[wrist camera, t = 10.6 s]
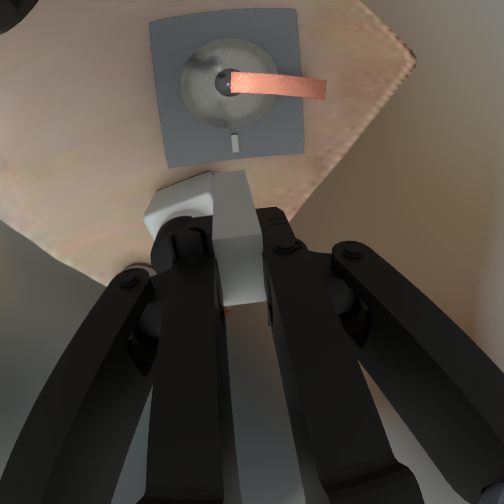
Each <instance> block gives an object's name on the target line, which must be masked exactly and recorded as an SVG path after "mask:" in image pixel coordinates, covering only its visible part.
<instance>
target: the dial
mask: <svg viewBox="0 0 504 504" xmlns="http://www.w3.org/2000/svg"><path fill="white" fill-rule="evenodd" d="M326 82H327V81H325V80H319V79H312V78H305V77H296V76H287V75H278V71H277V68H276V66H275V63H274V62H273V60H272V58H271V57H270V56H269V55H268V53H267V52H266V51H264V50H263V49H262V48H261V47H259V46H258V45H256V44H254V43H252V42H250V41H247V40H243V39H238V38H224V39H218V40H215V41H212V42H209V43H207V44H205V45H204V46H202V47H200V48H199V49H198V50H197V51H195V52H194V53H193V54H192V55H191V57H190V58H189V59H188V61H187V62H186V64H185V66H184V68H183V71H182V75H181V81H180V88H181V94H182V98H183V100H184V103H185V104H186V106H187V108H188V109H189V111H190V112H191V113H192V114H193V115H194V116H195V117H196V118H198V119H199V120H201V121H202V122H204V123H206V124H208V125H210V126H214V127H218V128H225V129H232V128H240V127H244V126H247V125H249V124H252V123H254V122H255V121H257V120H259V119H260V118H261V117H263V116H264V115H265V114H266V113H267V112H268V111H269V109H270V108H271V107H272V105H273V103H274V101H275V99H276V97H277V95H288V96H298V97H307V98H315V99H323V100H325V93H326Z"/></svg>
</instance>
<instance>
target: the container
mask: <svg viewBox="0 0 504 504" xmlns="http://www.w3.org/2000/svg"><path fill="white" fill-rule="evenodd" d="M213 197H214V176H213V173H212V172H210V171H208V172H206V173H203V174H200V175H197V176H195V177H192V178H189V179H187V180H184V181H182V182H179V183H176V184H174V185H171V186H169V187H166V188H164V189H161V190H159V191H157V192H156V193H155V195H154V197H153V198H152V200H151V202H150V204H149V206H148V208H147V210H146V212H145V214H144V216H143V221H144V223H145V225H146V227H147V228H148V230H149V232H150V234H151V236H152V238H153V240H154V244H153V247H152V250H151V263H152V267H153V269H154V271H155V272H156V274H160V273H163V272H165V271H167V270H169V269H171V267H172V262H173V261H172V257H171V254H170V250H169V246H168V242H167V238H168V236H169V234H171V233H172V232H173V231H175V230H177V229H179V228H182V227H186V224H187V223H188V222H189V220H190V219H191V218H193V217H201V216H208V215H213Z"/></svg>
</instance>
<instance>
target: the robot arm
mask: <svg viewBox="0 0 504 504" xmlns="http://www.w3.org/2000/svg"><path fill="white" fill-rule="evenodd" d="M37 1H38V0H0V34H2V33H4V32H6V31H8V30H10V29H11V28H12V27H14V26H15V25H16V24H17V23H18V22H20V21H21V20H22V19H23V18H24V17H25V16H26V15H27V13H28V12H29V11H30V10H31V9H32V8H33V6H34V5H35V4H36V2H37ZM167 242H168V246H169V250H170V254H171V257H172V261H173V262H172V267H171V269H169V270H167V271H165V272H163V273H160V274H157V275H154V276H151V277H150V275H149V272H148V271H147V270H145V269H143V268H130V269H126V270H124V271H122V272H121V273H119V274H117V275H116V276H115V277H114V278H113V279H112V281H111V282H110V284H109V285H108V286H107V288H106V289H105V291H104V292H103V293H102V295H101V296H100V298H99V299H98V300H97V302H96V304H95V305H94V306H93V308H92V309H91V311H90V312H89V314H88V315H87V317H86V318H85V320H84V321H83V323H82V324H81V326H80V327H79V329H78V330H77V332H76V333H75V335H74V337H73V338H72V340H71V341H70V343H69V344H68V346H67V348H66V350H65V351H64V353H63V354H62V356H61V358H60V359H59V361H58V363H57V364H56V366H55V368H54V370H53V371H52V373H51V375H50V376H49V378H48V380H47V382H46V384H45V385H44V387H43V389H42V391H41V393H40V394H39V396H38V398H37V400H36V402H35V404H34V406H33V408H32V410H31V412H30V414H29V416H28V418H27V420H26V422H25V424H24V426H23V428H22V430H21V432H20V434H19V436H18V439H17V441H16V443H15V445H14V448H13V450H12V452H11V455H10V457H9V459H8V462H7V464H6V467H5V469H4V472H3V474H2V477H1V480H0V504H111V500H112V497H113V494H114V491H115V488H116V485H117V482H118V479H119V476H120V473H121V470H122V467H123V464H124V461H125V458H126V456H127V452H128V450H129V447H130V444H131V441H132V439H133V436H134V433H135V430H136V428H137V425H138V422H139V419H140V417H141V414H142V411H143V409H144V406H145V403H146V401H147V398H148V396H149V393H150V390H151V388H152V385H153V391H152V401H151V411H150V422H149V435H148V451H147V472H146V490H145V494H144V496H143V497H142V498H141V499H140V500H139V501H138V502H137V503H136V504H242V502H241V493H240V484H239V476H238V466H237V456H236V446H235V435H234V425H233V414H232V401H231V389H230V376H229V363H228V349H227V333H226V316H225V311H224V306H230V305H237V304H246V303H254V302H262V301H266V297H267V306H268V325H269V326H271V330H272V334H273V339H274V345H275V349H276V354H277V359H278V364H279V369H280V374H281V379H282V383H283V389H284V394H285V398H286V404H287V409H288V414H289V418H290V424H291V429H292V433H293V439H294V444H295V449H296V453H297V459H298V463H299V469H300V474H301V479H302V484H303V488H304V493H305V500H306V504H424V500H423V497H422V494H421V491H420V487H419V484H418V482H417V480H416V478H415V476H414V474H413V473H412V471H411V470H410V469H409V468H408V467H407V466H405V465H403V464H401V463H399V462H398V461H397V460H396V458H395V457H394V455H393V453H392V450H391V447H390V444H389V441H388V438H387V436H386V433H385V430H384V427H383V425H382V422H381V419H380V416H379V414H378V411H377V408H376V406H375V403H374V401H373V398H372V395H371V393H370V390H369V388H368V385H367V383H366V380H365V378H364V375H363V373H362V370H361V368H360V365H359V363H358V360H359V362H360V363H361V365H362V366H363V367H364V368H365V370H366V371H367V372H368V374H369V375H370V376H371V378H372V379H373V380H374V382H375V383H376V384H377V386H378V387H379V388H380V390H381V391H382V392H383V394H384V395H385V397H386V398H387V399H388V400H389V402H390V403H391V405H392V406H393V407H394V409H395V410H396V411H397V413H398V414H399V415H400V417H401V418H402V419H403V421H404V422H405V424H406V425H407V426H408V428H409V429H410V430H411V432H412V433H413V435H414V436H415V437H416V439H417V440H418V441H419V443H420V444H421V446H422V447H423V448H424V450H425V451H426V453H427V454H428V455H429V457H430V458H431V460H432V461H433V462H434V464H435V465H436V467H437V468H438V469H439V471H440V472H441V473H442V475H443V476H444V478H445V479H446V481H447V482H448V483H449V484H450V485H451V487H452V488H453V489H454V491H455V492H456V493H458V494H459V495H460V496H461V497H462V498H463V499H464V500H465V501H467V502H469V503H470V504H504V373H503V372H502V371H501V370H500V369H499V368H498V367H497V366H496V365H495V363H494V362H493V361H492V360H491V359H490V358H489V357H488V356H487V355H486V354H485V353H484V352H483V351H482V350H481V349H480V348H479V347H478V346H477V345H476V344H475V342H473V340H471V339H470V337H469V336H467V334H466V333H465V332H464V331H462V330H461V329H460V327H458V326H457V325H456V324H455V323H454V322H453V321H452V320H451V319H450V318H449V317H448V316H447V315H446V314H445V313H444V312H443V311H442V310H441V309H439V308H438V307H437V306H436V305H435V304H434V303H433V302H432V301H431V300H430V299H429V298H428V297H426V295H424V294H423V293H422V292H421V291H420V290H419V289H418V288H417V287H415V286H414V285H413V284H412V283H411V282H410V281H408V279H406V278H405V277H404V276H403V275H402V274H400V273H399V272H398V271H397V270H396V269H395V268H394V267H392V266H391V265H390V264H389V263H388V262H386V261H385V260H384V259H383V258H381V257H380V256H379V255H378V254H377V253H375V252H374V251H373V250H372V249H371V248H370V247H368V246H366V245H365V244H363V243H359V242H356V241H343V242H339V243H337V244H335V245H334V247H333V248H332V254H329V253H317V252H312V251H309V250H308V249H307V247H306V245H305V244H304V243H303V242H302V241H301V240H299V239H297V238H296V237H295V235H294V233H293V231H292V229H291V227H290V225H289V222H288V220H287V219H286V216H285V214H284V212H283V211H282V210H280V209H279V208H277V207H269V208H259V209H255V206H254V203H253V199H252V196H251V192H250V189H249V185H248V182H247V178H246V174H245V171H244V170H241V171H232V172H223V173H215V174H214V197H213V215H208V216H201V217H193V218H191V219H190V220H189V222H188V223H187V224H186V227H182V228H179V229H177V230H175V231H173V232H172V233H171V234H169V236H168V238H167ZM223 303H224V306H223ZM357 359H358V360H357Z"/></svg>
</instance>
